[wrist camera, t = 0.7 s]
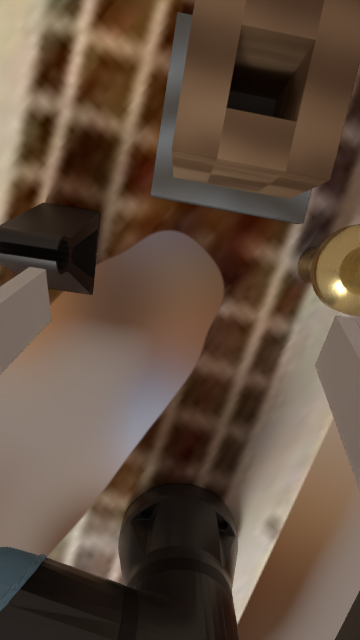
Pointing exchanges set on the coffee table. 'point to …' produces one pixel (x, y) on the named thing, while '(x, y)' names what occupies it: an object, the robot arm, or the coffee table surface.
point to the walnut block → (256, 104)
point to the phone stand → (53, 245)
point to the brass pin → (335, 270)
